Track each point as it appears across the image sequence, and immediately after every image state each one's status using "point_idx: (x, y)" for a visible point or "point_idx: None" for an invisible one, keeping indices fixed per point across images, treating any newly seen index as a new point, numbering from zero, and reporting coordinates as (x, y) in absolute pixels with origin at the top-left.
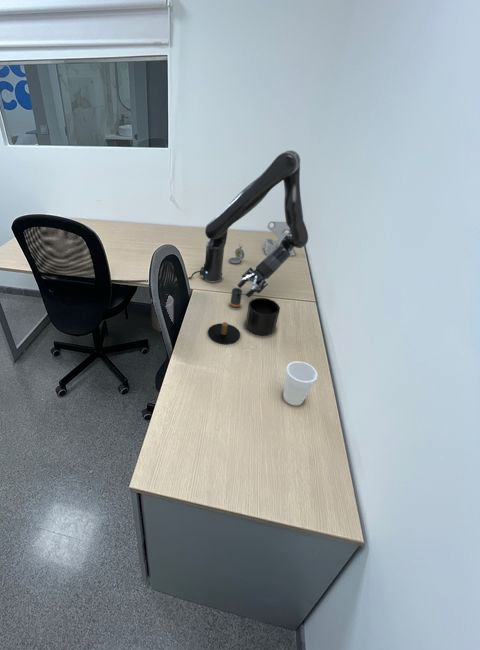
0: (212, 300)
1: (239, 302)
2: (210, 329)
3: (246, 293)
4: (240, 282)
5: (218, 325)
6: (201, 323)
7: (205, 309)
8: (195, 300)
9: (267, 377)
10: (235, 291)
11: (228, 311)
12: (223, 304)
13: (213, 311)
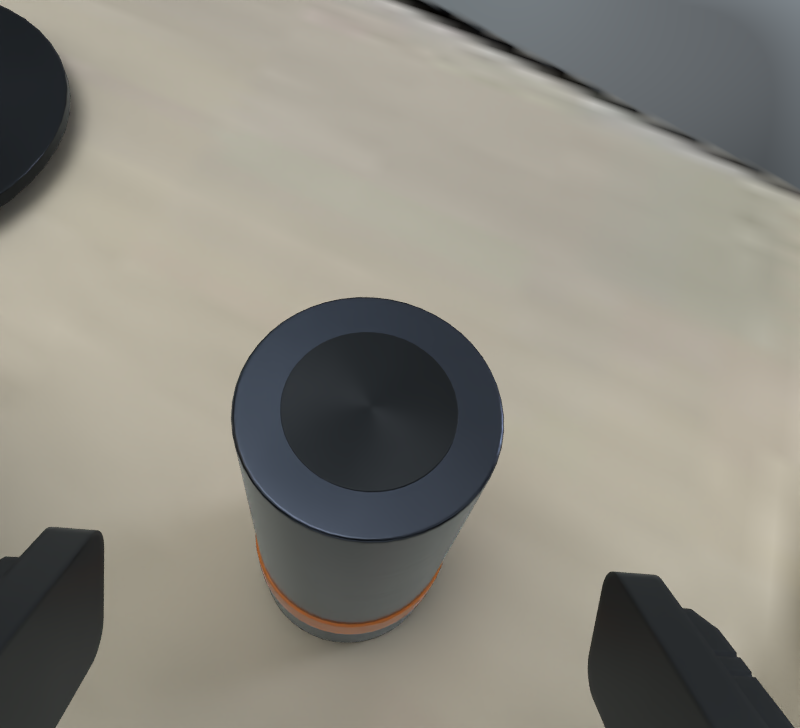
0: (601, 333)
1: (258, 544)
2: (16, 33)
3: (81, 541)
4: (685, 644)
5: (23, 119)
6: (200, 54)
7: (427, 182)
8: (641, 171)
9: None
10: (341, 346)
11: None
12: None
13: (352, 235)
